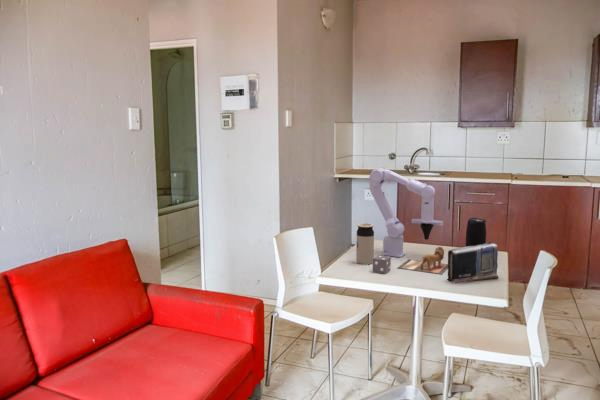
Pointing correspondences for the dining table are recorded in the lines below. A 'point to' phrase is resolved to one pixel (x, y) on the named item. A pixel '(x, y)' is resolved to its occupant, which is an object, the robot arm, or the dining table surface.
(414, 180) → the robot arm
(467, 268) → the radio
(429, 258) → the lion figurine
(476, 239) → the portable speaker
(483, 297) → the dining table surface
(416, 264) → the board
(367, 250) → the travel mug
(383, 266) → the die
